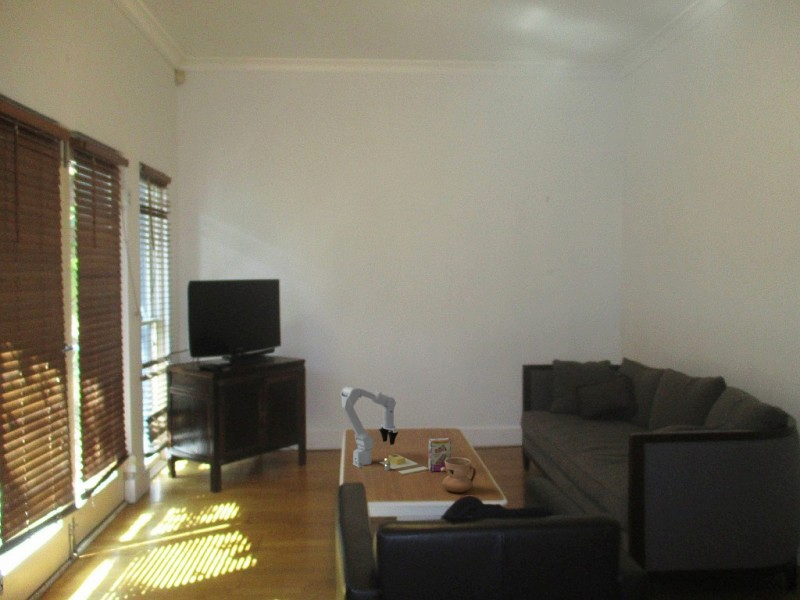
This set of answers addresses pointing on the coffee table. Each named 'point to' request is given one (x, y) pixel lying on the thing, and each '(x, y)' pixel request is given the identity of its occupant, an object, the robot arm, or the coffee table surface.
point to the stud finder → (397, 459)
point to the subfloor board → (407, 467)
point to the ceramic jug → (458, 475)
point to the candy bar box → (438, 453)
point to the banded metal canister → (387, 464)
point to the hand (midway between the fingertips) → (388, 443)
